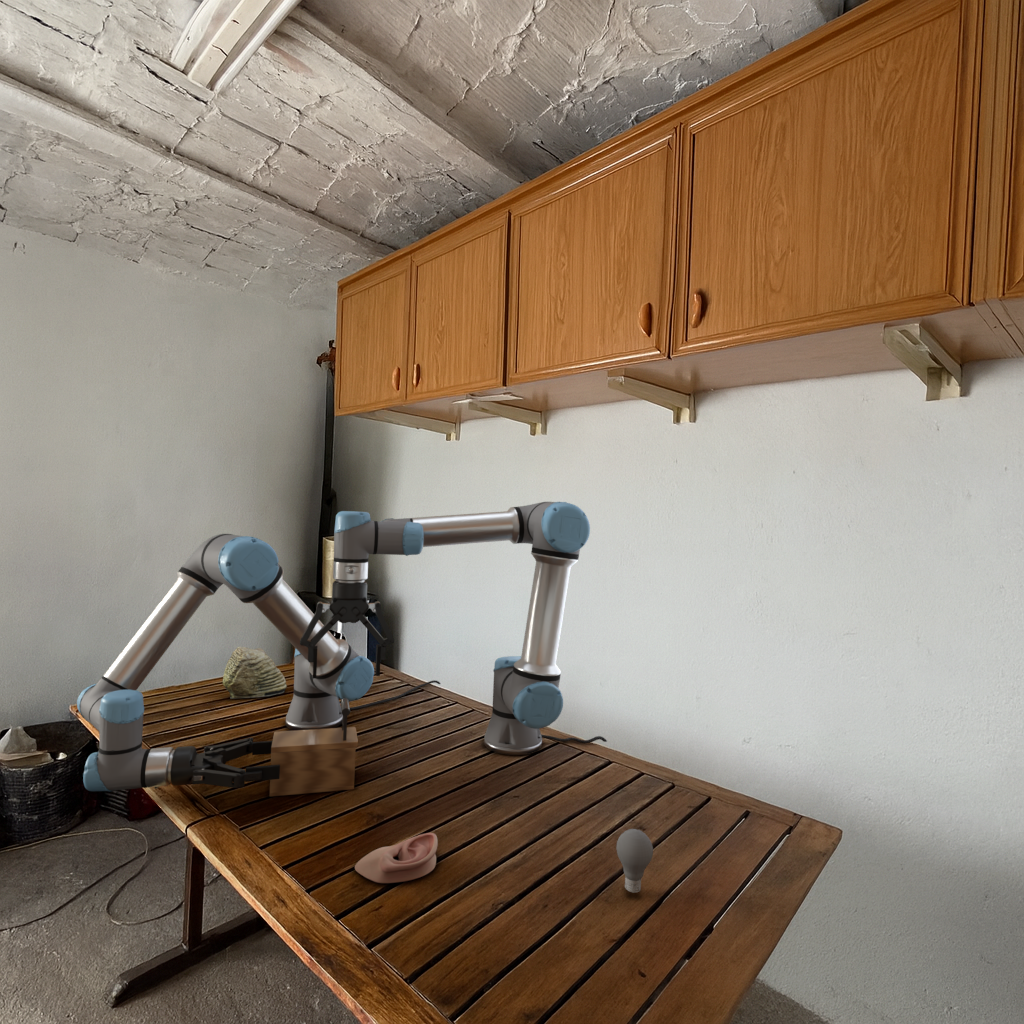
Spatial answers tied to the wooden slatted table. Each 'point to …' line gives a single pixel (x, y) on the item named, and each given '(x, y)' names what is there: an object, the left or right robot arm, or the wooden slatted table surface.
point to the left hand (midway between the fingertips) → (281, 758)
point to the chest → (313, 771)
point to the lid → (317, 737)
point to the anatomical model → (400, 860)
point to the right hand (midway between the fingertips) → (346, 675)
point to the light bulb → (634, 857)
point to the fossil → (252, 674)
